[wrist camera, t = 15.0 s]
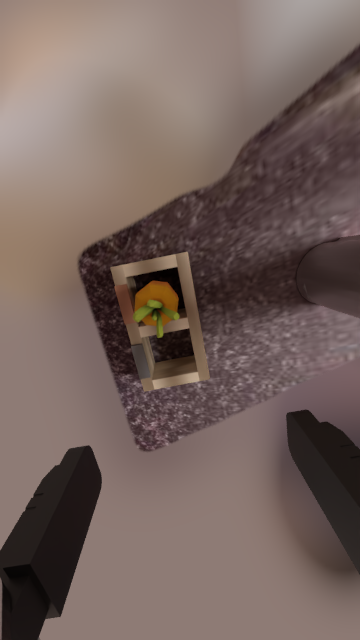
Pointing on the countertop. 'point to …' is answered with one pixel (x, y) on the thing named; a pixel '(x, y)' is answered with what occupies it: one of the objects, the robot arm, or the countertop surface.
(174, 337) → the countertop surface
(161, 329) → the carrot
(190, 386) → the countertop surface
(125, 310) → the frame
